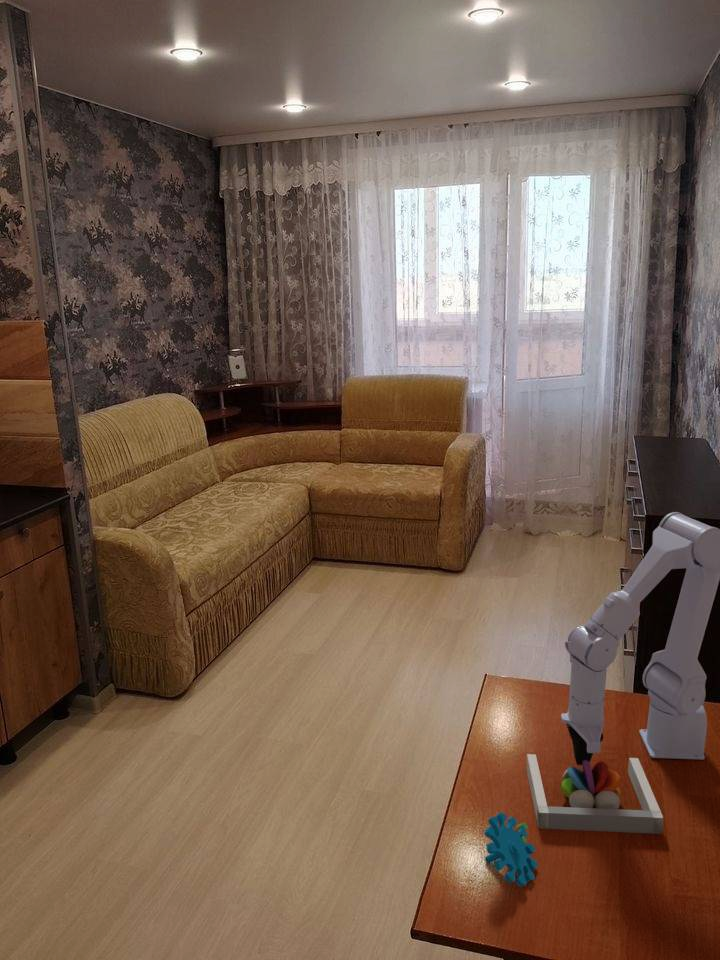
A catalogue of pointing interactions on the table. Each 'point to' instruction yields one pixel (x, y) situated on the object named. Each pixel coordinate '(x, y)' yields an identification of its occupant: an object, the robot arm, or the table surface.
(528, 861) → the teal knobby piece
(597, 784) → the rainbow petal cluster
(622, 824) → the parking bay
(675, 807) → the table surface
